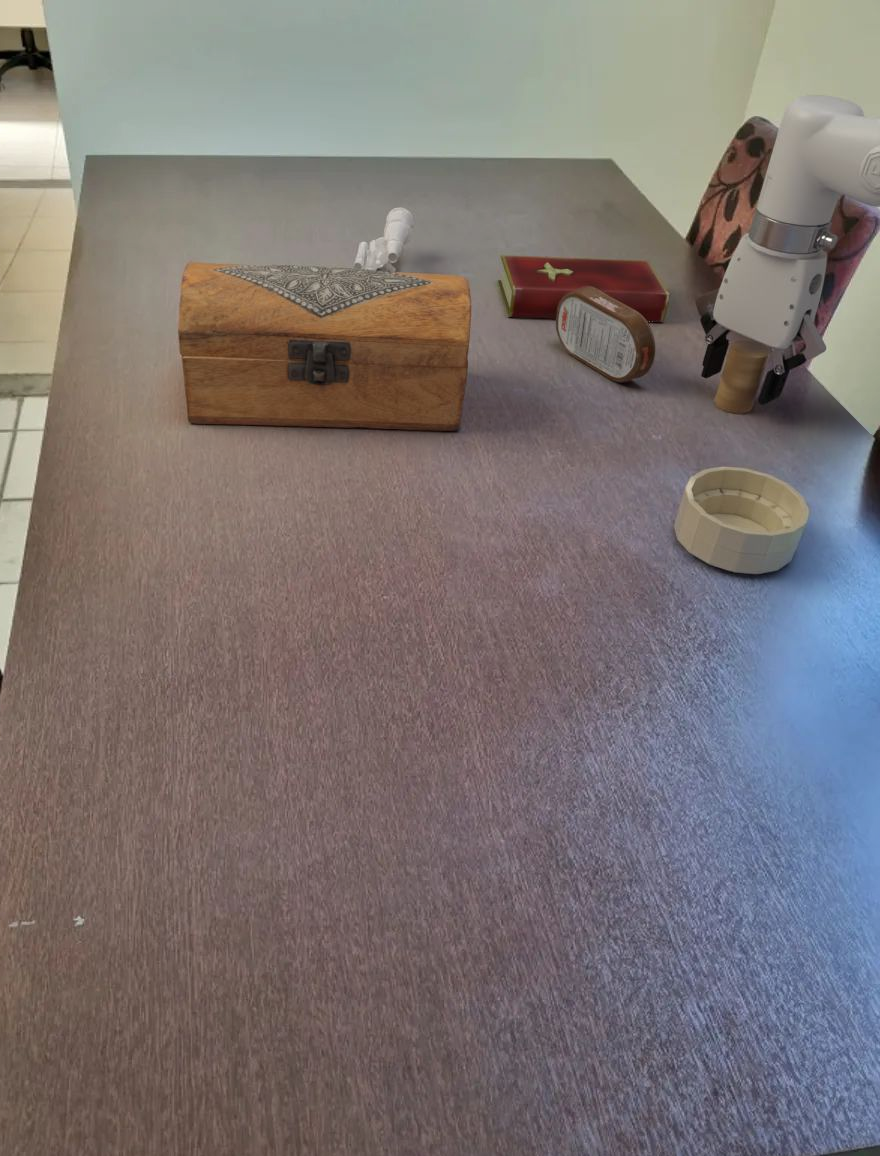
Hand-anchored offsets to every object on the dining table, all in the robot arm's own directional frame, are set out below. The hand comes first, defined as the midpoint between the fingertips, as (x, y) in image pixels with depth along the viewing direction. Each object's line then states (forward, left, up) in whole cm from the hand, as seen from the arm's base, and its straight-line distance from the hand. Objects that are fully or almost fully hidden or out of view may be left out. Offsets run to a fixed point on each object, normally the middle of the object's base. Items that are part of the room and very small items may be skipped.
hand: (738, 386), depth 113 cm
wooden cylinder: (0, 0, -2) cm, 2 cm away
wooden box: (+29, +38, -2) cm, 48 cm away
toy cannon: (+54, +8, -2) cm, 55 cm away
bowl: (-16, +24, -2) cm, 29 cm away
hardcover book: (+30, -7, -2) cm, 31 cm away
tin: (+16, +6, -2) cm, 17 cm away
